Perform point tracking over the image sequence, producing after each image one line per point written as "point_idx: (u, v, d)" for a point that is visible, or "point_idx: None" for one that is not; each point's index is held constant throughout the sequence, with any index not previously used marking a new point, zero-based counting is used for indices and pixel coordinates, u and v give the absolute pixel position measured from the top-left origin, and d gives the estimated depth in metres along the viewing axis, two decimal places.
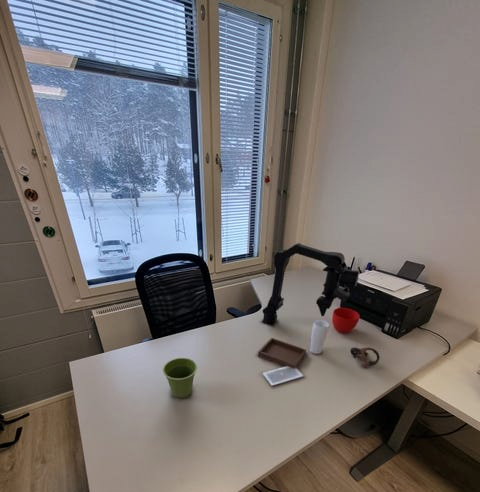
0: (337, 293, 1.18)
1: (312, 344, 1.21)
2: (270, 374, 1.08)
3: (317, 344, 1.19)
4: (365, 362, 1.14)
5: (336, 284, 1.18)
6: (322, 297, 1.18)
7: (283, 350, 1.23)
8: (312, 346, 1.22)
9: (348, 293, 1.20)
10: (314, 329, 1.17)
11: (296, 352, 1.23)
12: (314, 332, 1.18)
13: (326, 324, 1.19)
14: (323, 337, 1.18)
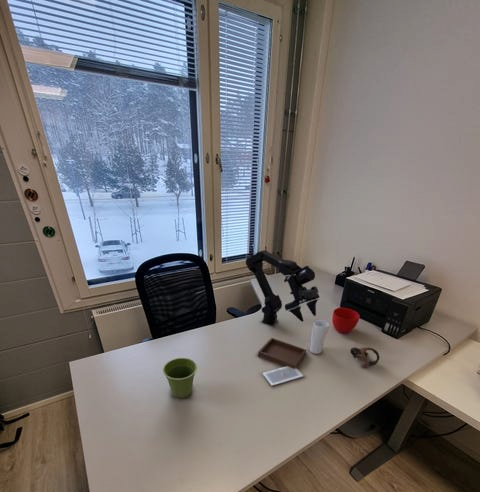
0: (302, 293, 1.20)
1: (312, 344, 1.21)
2: (270, 374, 1.09)
3: (317, 344, 1.19)
4: (365, 362, 1.14)
5: (298, 287, 1.22)
6: None
7: (283, 350, 1.23)
8: (312, 346, 1.22)
9: (314, 289, 1.19)
10: (314, 329, 1.17)
11: (296, 352, 1.23)
12: (314, 332, 1.18)
13: (326, 324, 1.19)
14: (323, 337, 1.18)
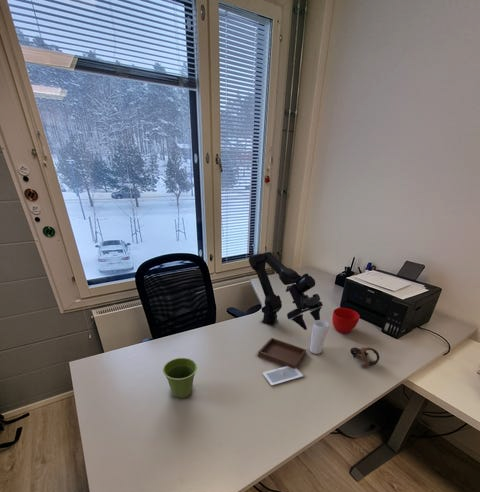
0: (303, 301, 1.19)
1: (312, 344, 1.21)
2: (270, 374, 1.09)
3: (317, 344, 1.19)
4: (365, 362, 1.14)
5: (300, 295, 1.21)
6: None
7: (283, 350, 1.23)
8: (312, 346, 1.22)
9: (315, 297, 1.18)
10: (314, 329, 1.17)
11: (296, 352, 1.23)
12: (314, 332, 1.18)
13: (326, 324, 1.19)
14: (323, 337, 1.18)
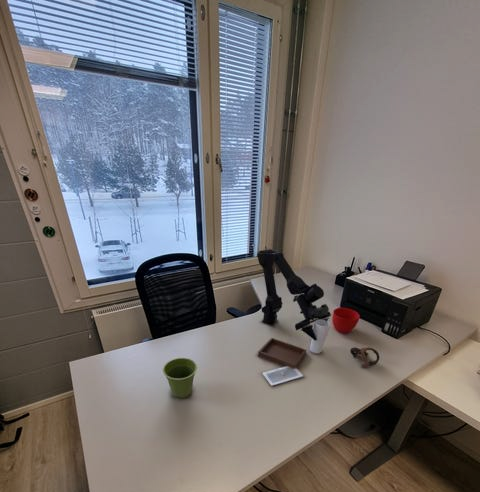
0: (312, 312, 1.17)
1: (312, 343, 1.21)
2: (269, 374, 1.09)
3: (318, 343, 1.19)
4: (365, 362, 1.14)
5: (308, 305, 1.19)
6: None
7: (283, 350, 1.23)
8: (312, 345, 1.22)
9: (324, 307, 1.15)
10: (315, 328, 1.17)
11: (296, 352, 1.23)
12: (315, 331, 1.18)
13: (327, 324, 1.19)
14: (324, 337, 1.18)
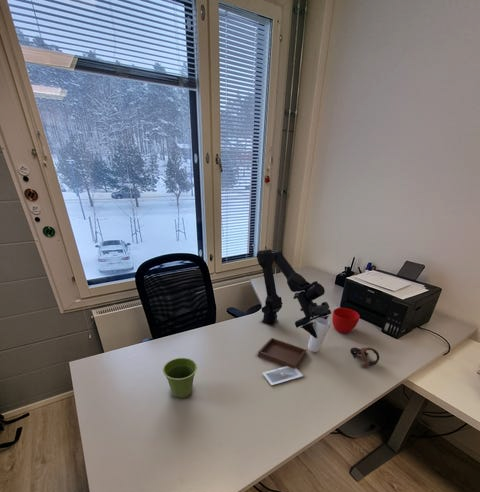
0: (312, 310, 1.16)
1: (310, 341, 1.21)
2: (269, 374, 1.09)
3: (316, 341, 1.19)
4: (365, 362, 1.14)
5: (308, 303, 1.19)
6: None
7: (283, 350, 1.23)
8: (310, 343, 1.21)
9: (324, 305, 1.15)
10: (315, 325, 1.17)
11: (296, 352, 1.23)
12: (314, 329, 1.17)
13: (328, 323, 1.19)
14: (322, 335, 1.17)
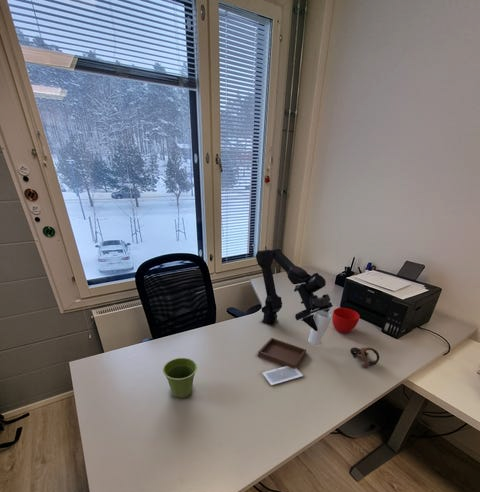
0: (313, 302, 1.14)
1: (311, 334, 1.19)
2: (269, 374, 1.09)
3: (316, 334, 1.17)
4: (365, 362, 1.14)
5: (309, 295, 1.16)
6: None
7: (283, 350, 1.23)
8: (311, 336, 1.19)
9: (325, 297, 1.13)
10: (315, 318, 1.15)
11: (296, 352, 1.23)
12: (315, 321, 1.15)
13: (329, 316, 1.16)
14: (323, 328, 1.15)
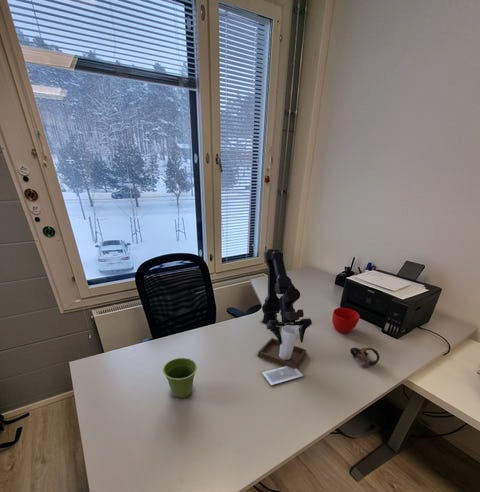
0: (285, 314, 1.12)
1: (280, 348, 1.17)
2: (269, 374, 1.09)
3: (282, 349, 1.14)
4: (365, 362, 1.14)
5: (285, 307, 1.14)
6: None
7: None
8: None
9: (296, 312, 1.09)
10: (281, 332, 1.13)
11: (296, 352, 1.23)
12: None
13: None
14: (287, 344, 1.11)
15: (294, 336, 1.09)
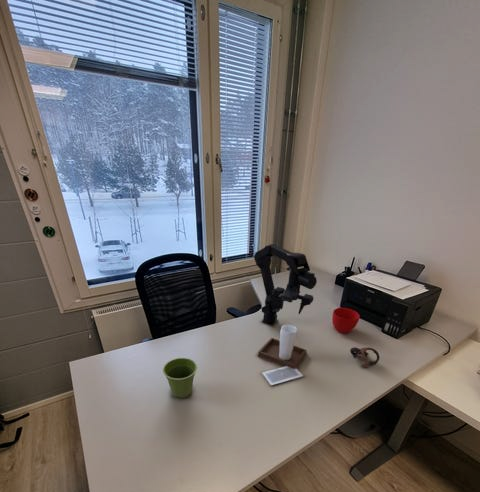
0: (285, 290, 1.23)
1: None
2: (269, 374, 1.09)
3: (282, 348, 1.14)
4: (365, 362, 1.14)
5: (289, 283, 1.22)
6: (280, 288, 1.30)
7: None
8: (279, 350, 1.17)
9: (289, 296, 1.19)
10: (280, 332, 1.13)
11: (296, 352, 1.23)
12: (280, 335, 1.14)
13: None
14: (287, 343, 1.12)
15: (293, 335, 1.10)
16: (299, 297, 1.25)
